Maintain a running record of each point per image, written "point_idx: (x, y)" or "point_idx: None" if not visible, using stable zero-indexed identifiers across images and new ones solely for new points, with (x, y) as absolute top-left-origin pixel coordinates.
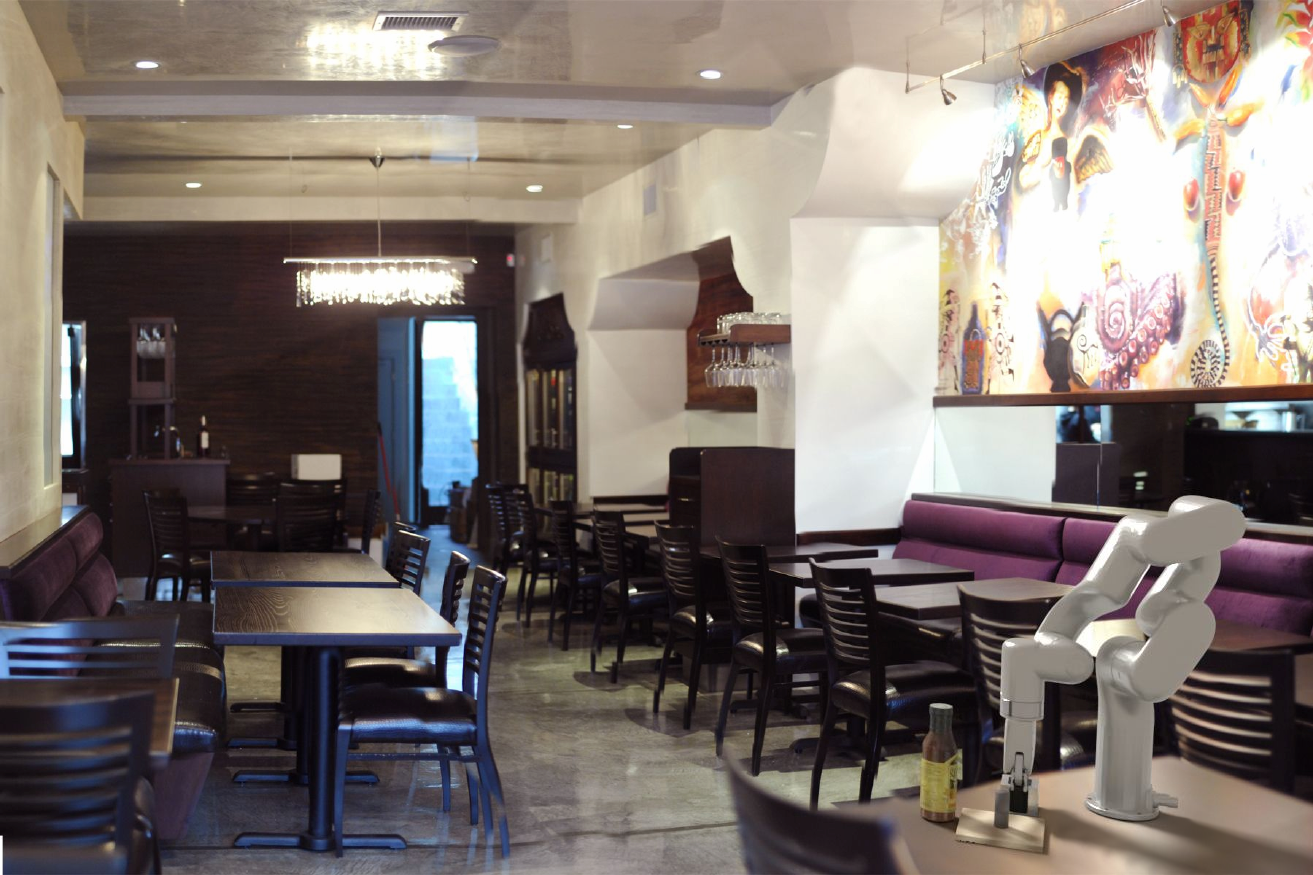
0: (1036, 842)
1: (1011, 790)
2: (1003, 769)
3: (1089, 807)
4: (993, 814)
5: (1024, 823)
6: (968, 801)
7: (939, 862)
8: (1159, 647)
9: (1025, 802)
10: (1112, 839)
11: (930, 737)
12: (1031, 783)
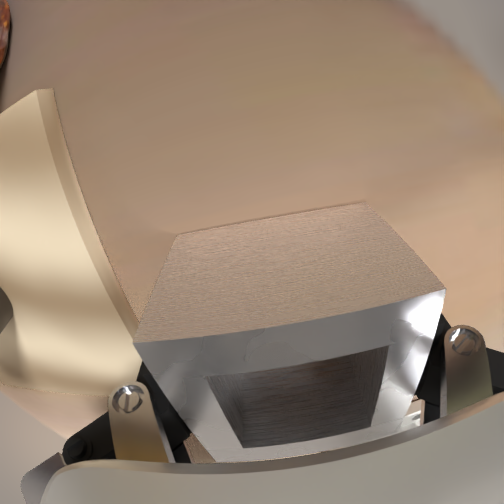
0: (6, 376)
1: (123, 386)
2: (50, 481)
3: None
4: (54, 249)
5: (74, 355)
6: (256, 35)
7: None
8: None
9: None
10: (193, 457)
11: None
12: (295, 441)
